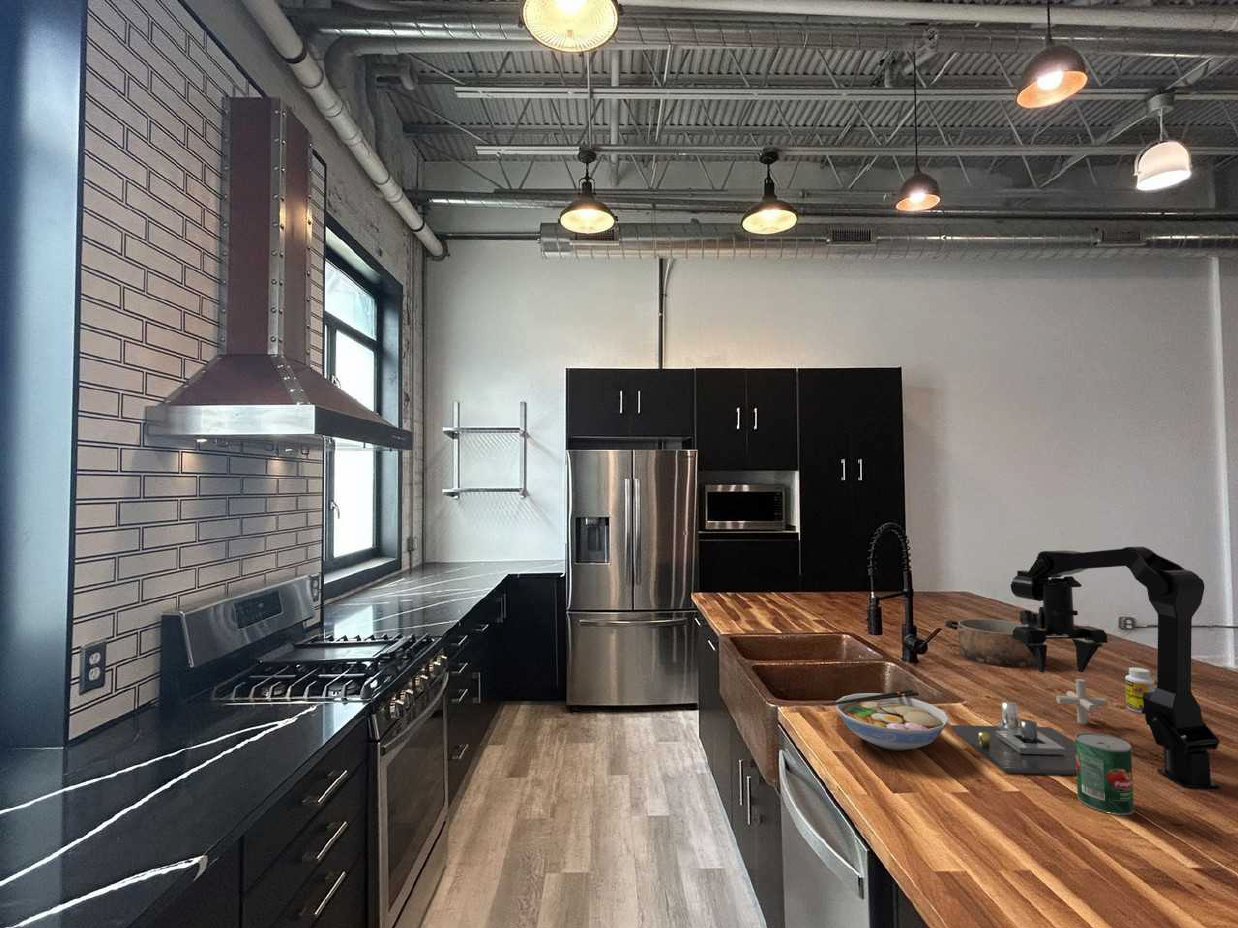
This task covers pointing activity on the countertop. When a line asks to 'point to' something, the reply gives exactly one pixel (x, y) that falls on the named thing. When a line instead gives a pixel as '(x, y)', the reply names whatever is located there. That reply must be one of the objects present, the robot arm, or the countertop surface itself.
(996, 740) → the post base
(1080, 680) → the pipe connector
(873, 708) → the ramen bowl
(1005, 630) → the cooking pot
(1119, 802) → the canned tomato
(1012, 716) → the metal knob latch
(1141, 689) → the supplement bottle
